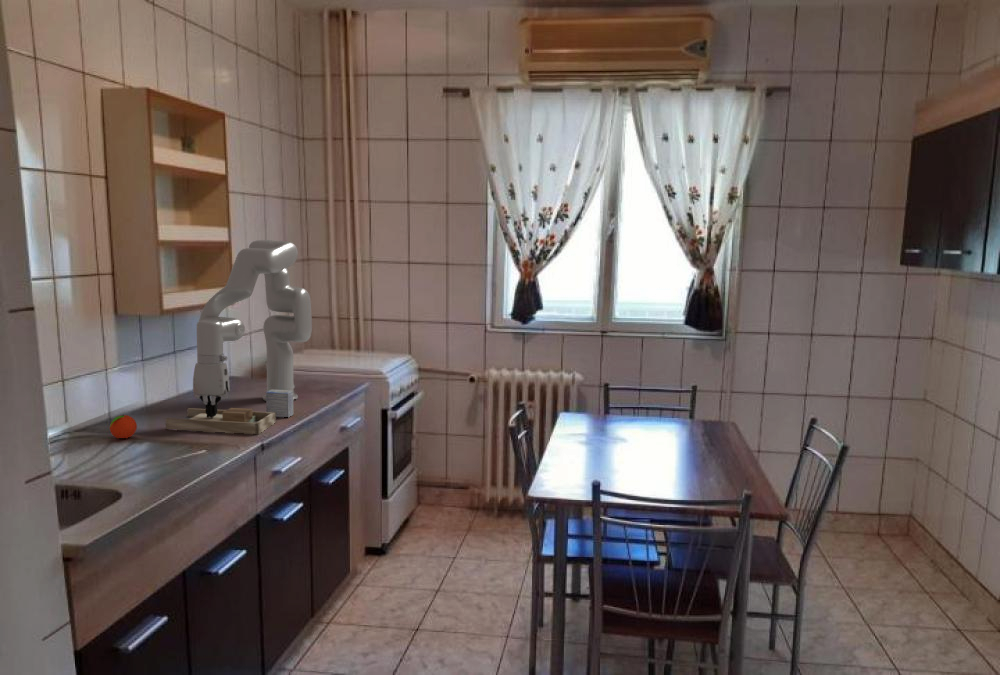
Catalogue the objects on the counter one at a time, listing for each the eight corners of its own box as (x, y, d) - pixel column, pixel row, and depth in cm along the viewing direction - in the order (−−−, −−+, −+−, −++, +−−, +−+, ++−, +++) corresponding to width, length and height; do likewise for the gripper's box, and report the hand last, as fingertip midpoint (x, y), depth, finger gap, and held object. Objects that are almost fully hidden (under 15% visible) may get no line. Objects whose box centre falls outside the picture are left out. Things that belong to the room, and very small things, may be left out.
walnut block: (231, 416, 216) (231, 407, 215) (252, 418, 215) (252, 408, 215) (222, 421, 210) (222, 412, 209) (244, 422, 209) (244, 413, 209)
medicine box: (293, 415, 231) (293, 390, 229) (288, 418, 226) (288, 393, 225) (271, 413, 231) (271, 389, 230) (265, 416, 227) (265, 391, 226)
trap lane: (189, 418, 221) (188, 408, 220) (275, 422, 220) (275, 412, 219) (166, 429, 207) (165, 418, 207) (258, 434, 206) (258, 423, 205)
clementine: (120, 444, 192) (119, 419, 191) (101, 441, 194) (100, 417, 193) (142, 436, 199) (141, 413, 198) (124, 434, 201) (123, 411, 200)
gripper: (238, 358, 214) (239, 414, 217) (192, 356, 215) (194, 412, 217) (228, 362, 207) (229, 420, 209) (180, 360, 207) (182, 418, 210)
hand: (211, 416), depth 213 cm, fingers closed
